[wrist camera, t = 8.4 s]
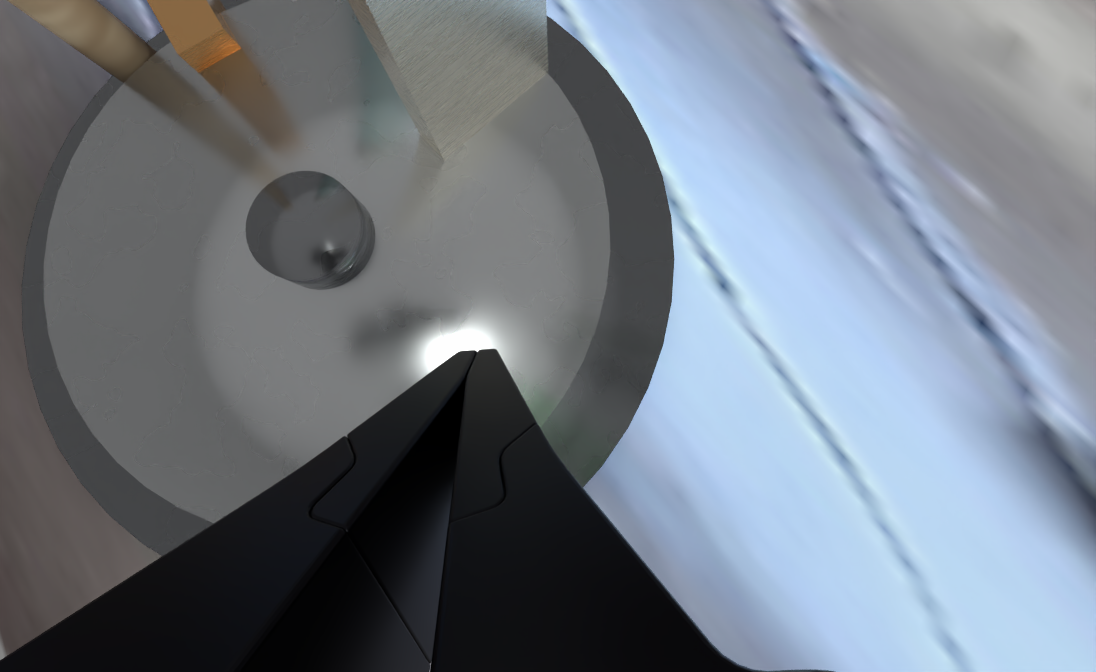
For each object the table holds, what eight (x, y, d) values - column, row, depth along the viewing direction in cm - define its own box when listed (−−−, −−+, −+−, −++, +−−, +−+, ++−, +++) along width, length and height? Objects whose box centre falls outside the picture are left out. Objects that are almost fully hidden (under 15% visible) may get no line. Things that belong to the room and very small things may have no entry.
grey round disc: (438, 747, 17) (435, 755, 16) (-98, 360, 19) (-112, 359, 19) (788, 150, 19) (793, 145, 19) (278, -124, 22) (273, -133, 21)
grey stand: (295, 655, 17) (-259, 1207, 5) (-45, 202, 19) (-892, -65, 8) (719, 264, 18) (984, 53, 7) (349, -106, 21) (102, -697, 9)
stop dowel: (157, 105, 20) (-9, -14, 14) (124, 85, 20) (-55, -41, 15) (184, 71, 20) (30, -61, 15) (150, 50, 21) (-15, -88, 15)
